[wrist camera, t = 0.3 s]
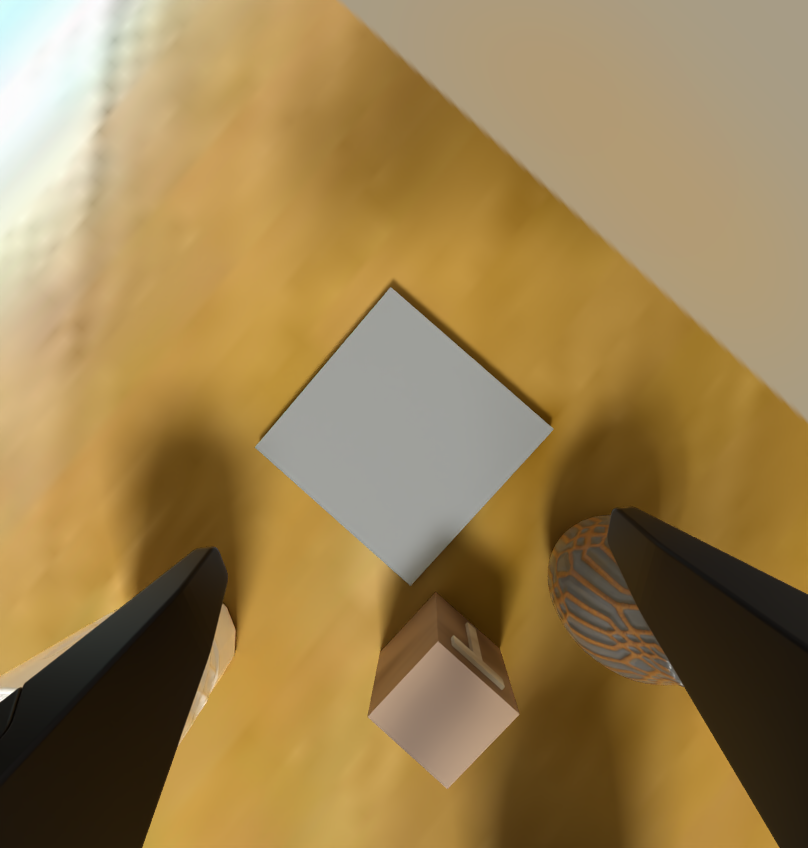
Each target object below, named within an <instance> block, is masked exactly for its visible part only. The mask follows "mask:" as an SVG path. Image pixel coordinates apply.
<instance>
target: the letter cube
mask: <svg viewBox="0 0 808 848" xmlns="http://www.w3.org/2000/svg"><path fill="white" fill-rule="evenodd" d="M518 716H519V710H518V707H517V704H516V700H515V697H514V694H513V690H512V687H511V684H510V681H509V677H508V674H507V671H506V667H505V664H504V661H503V657H502V654H501V651H500V649H499V648H498V647H497V646H496V645H495V644H494V643H493V642H492V641H490V640H489V639H488V638H487V637H486V636H485V635H484V634H483V633H481V632H480V631H479V630H478V629H477V628H476V627H475V626H474V625H472V624H471V623H470V622H469V621H468V620H467V619H466V618H465V617H463V616H462V615H461V614H460V613H459V612H458V611H457V610H456V609H454V608H453V607H452V606H451V605H450V604H449V603H448V602H447V601H445V600H444V599H443V598H442V597H441V596H440V595H439V594H438V593H436V592H435V593H434V594H433V595H432V596H431V598H430V599H429V600H428V601H427V602H426V603H425V604H424V605H423V606H422V607H421V608H420V609H419V611H418V612H417V613H416V614H415V615H414V616H413V617H412V618H411V619H410V620H409V621H408V622H407V624H406V625H405V626H404V627H403V628H402V629H401V630H400V631H399V632H398V633H397V634H396V636H395V637H394V638H393V639H392V640H391V641H390V642H389V643H388V644H387V645H386V646H385V647H384V649H383V650H382V651H381V652H380V655H379V660H378V666H377V671H376V676H375V681H374V686H373V691H372V696H371V702H370V707H369V712H368V718H369V719H370V720H372V721H373V722H374V723H375V724H376V725H377V726H378V727H379V728H380V729H382V730H383V731H384V732H385V733H386V734H387V735H388V736H389V737H390V738H392V739H393V740H394V741H395V742H396V743H397V744H398V745H399V746H400V747H401V748H403V749H404V750H405V751H406V752H407V753H408V754H409V755H410V756H411V757H413V758H414V759H415V760H416V761H417V762H418V763H419V764H420V765H421V766H423V767H424V768H425V769H426V770H427V771H428V772H429V773H430V774H431V775H432V776H434V777H435V778H436V779H437V780H438V781H439V782H440V783H441V784H442V785H444V786H445V787H446V788H447V789H448V788H449V787H450V786H451V785H452V784H453V783H454V782H455V781H456V780H457V778H458V777H459V776H460V775H461V774H462V773H463V772H464V771H465V770H466V769H467V768H468V767H469V766H470V765H471V764H472V763H473V762H474V761H475V760H476V759H477V758H478V757H479V756H480V755H481V754H482V753H483V752H484V751H485V750H486V749H487V748H488V746H489V745H490V744H491V743H492V742H493V741H494V740H495V739H496V738H497V737H498V736H499V735H500V734H501V733H502V732H503V731H504V730H505V729H506V728H507V727H508V726H509V725H510V724H511V723H512V722H513V721H514V720H515V719H516V718H517V717H518Z"/></svg>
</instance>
